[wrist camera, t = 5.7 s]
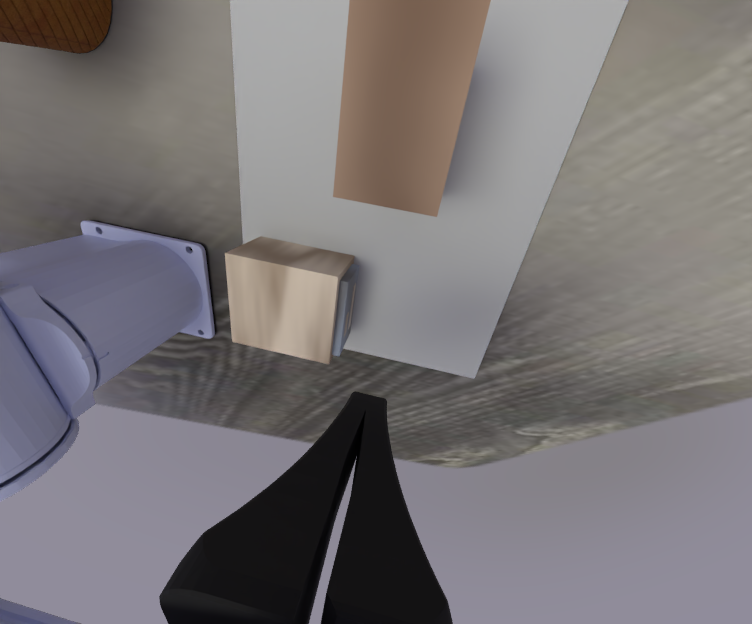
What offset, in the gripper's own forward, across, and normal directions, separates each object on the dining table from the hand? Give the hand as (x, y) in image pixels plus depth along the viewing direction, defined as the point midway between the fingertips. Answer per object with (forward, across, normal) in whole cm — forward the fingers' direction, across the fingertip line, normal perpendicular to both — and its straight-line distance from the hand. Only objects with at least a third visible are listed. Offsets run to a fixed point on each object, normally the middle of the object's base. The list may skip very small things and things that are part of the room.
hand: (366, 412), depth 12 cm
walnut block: (+10, +1, -10) cm, 14 cm away
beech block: (+8, +3, 0) cm, 8 cm away
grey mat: (+10, +2, -6) cm, 12 cm away
